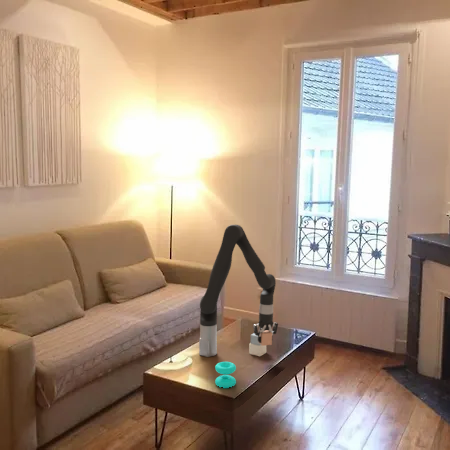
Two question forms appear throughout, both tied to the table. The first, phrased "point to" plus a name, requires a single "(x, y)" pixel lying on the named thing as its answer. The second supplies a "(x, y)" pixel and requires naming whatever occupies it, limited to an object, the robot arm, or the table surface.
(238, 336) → the table surface
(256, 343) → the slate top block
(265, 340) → the terracotta block
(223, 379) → the donuts
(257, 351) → the cream base block
